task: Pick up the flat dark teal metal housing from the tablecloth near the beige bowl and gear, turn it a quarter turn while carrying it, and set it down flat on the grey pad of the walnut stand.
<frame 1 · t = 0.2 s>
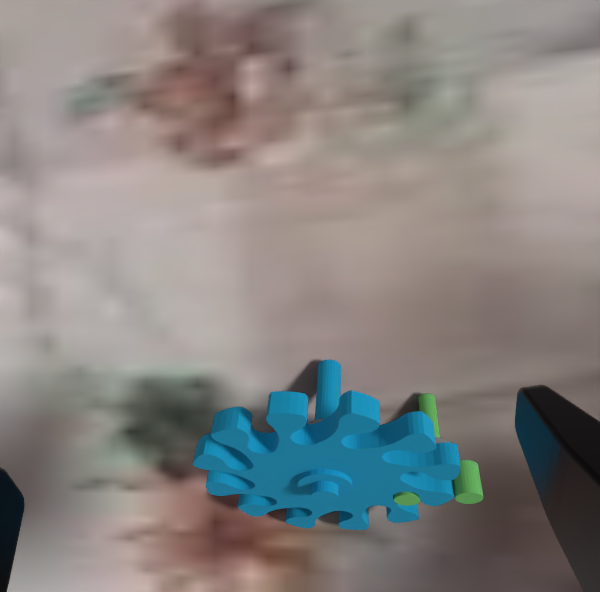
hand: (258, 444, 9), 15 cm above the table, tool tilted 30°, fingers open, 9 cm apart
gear: (336, 440, 24), on the table
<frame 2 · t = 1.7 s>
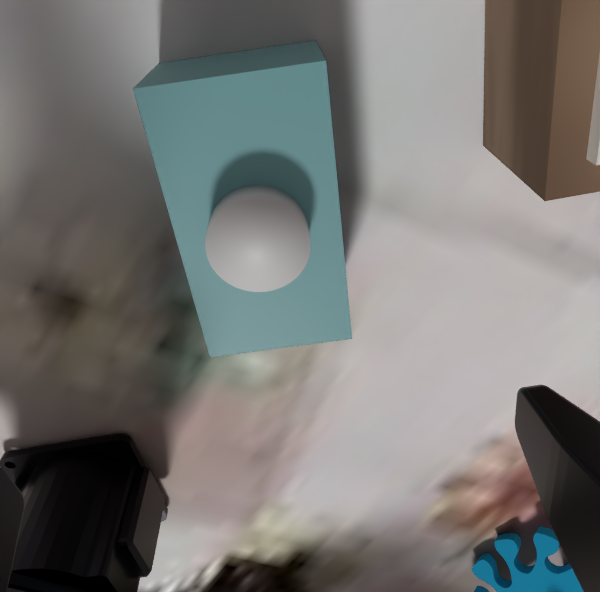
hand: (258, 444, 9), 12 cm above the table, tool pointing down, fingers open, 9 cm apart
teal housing: (260, 183, 19), on the table
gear: (524, 554, 33), on the table
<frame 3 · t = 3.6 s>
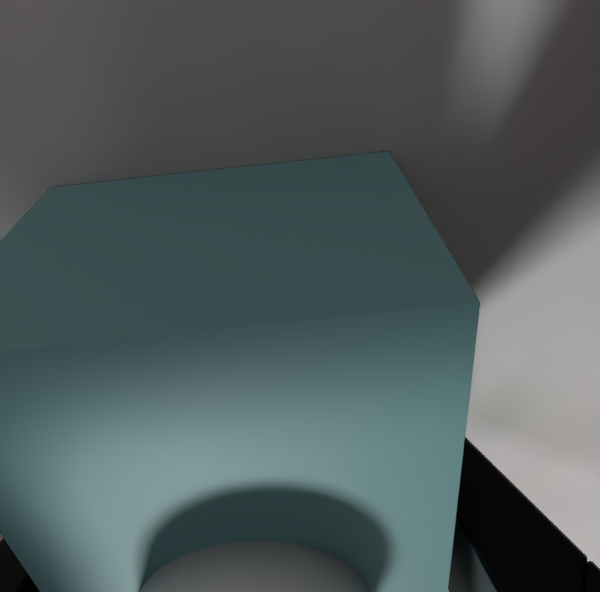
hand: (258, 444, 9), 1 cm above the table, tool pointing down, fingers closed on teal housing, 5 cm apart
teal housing: (260, 393, 10), on the table, touching gripper
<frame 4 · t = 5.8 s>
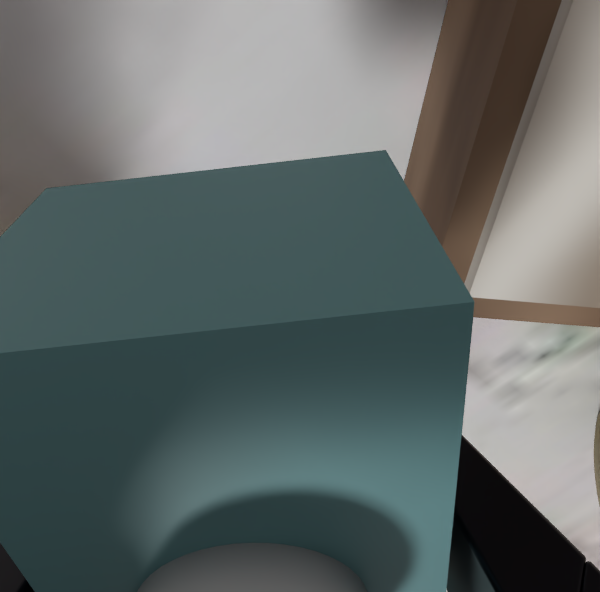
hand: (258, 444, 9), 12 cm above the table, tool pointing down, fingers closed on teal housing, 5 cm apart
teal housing: (258, 394, 10), point 11 cm above the table, touching gripper
when the fingers open (8 cm above the table, at t = 8.2 s): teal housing drops 1 cm, resting on walnut stand.
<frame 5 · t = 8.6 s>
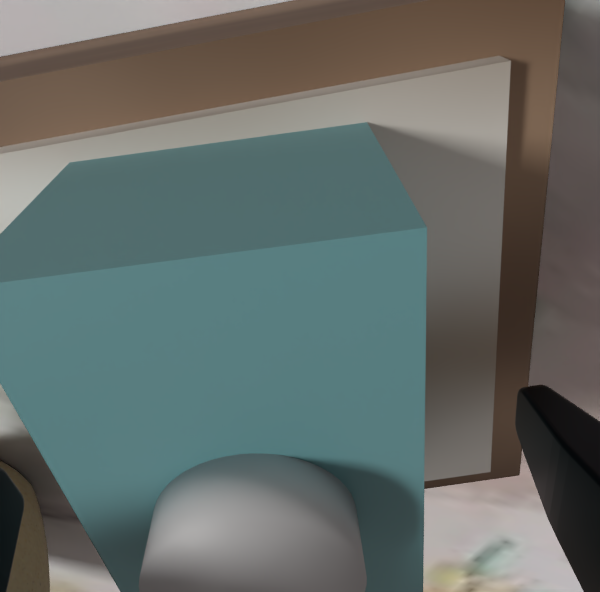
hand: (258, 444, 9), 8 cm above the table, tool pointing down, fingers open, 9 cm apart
walnut stand: (264, 237, 16), on the table
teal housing: (260, 352, 11), point 5 cm above the table, touching walnut stand
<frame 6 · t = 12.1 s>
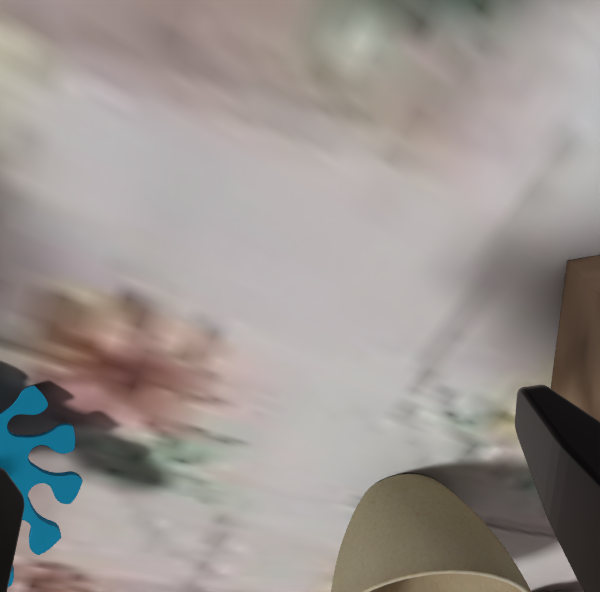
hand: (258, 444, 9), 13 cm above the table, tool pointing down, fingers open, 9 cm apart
beige bowl: (401, 497, 31), on the table
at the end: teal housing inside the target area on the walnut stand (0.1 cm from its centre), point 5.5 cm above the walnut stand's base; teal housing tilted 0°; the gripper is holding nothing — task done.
